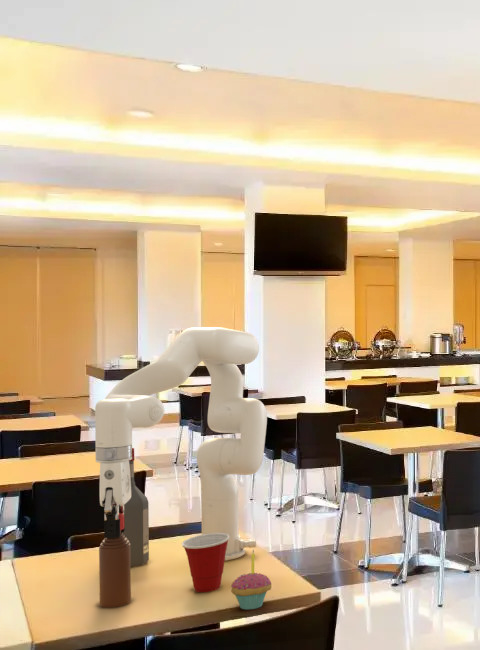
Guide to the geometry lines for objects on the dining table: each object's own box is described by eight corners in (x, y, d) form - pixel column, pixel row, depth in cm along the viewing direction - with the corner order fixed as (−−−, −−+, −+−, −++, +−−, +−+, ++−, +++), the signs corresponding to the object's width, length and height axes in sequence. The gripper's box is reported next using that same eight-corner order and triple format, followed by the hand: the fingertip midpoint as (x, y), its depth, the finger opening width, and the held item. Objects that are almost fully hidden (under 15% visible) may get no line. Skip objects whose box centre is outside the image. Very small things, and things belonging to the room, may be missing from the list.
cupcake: (236, 600, 197) (236, 547, 197) (274, 599, 198) (274, 546, 198) (227, 613, 189) (227, 558, 189) (267, 612, 189) (267, 556, 189)
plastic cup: (175, 587, 207) (175, 537, 207) (221, 579, 214) (220, 530, 214) (190, 599, 198) (189, 546, 198) (237, 589, 205) (236, 538, 205)
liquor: (113, 571, 221) (112, 452, 221) (104, 563, 228) (103, 448, 229) (151, 564, 227) (150, 449, 227) (140, 556, 234) (139, 445, 234)
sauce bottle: (133, 597, 200) (132, 514, 200) (128, 606, 194) (127, 520, 194) (102, 599, 199) (102, 516, 199) (96, 608, 193) (96, 522, 193)
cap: (124, 526, 199) (124, 512, 199) (124, 530, 196) (124, 515, 196) (104, 528, 198) (104, 514, 198) (104, 532, 194) (104, 517, 194)
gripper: (123, 458, 189) (124, 543, 189) (139, 447, 206) (139, 525, 206) (86, 460, 188) (87, 545, 188) (104, 449, 204) (105, 527, 204)
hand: (114, 534), depth 197 cm, fingers closed on cap, 3 cm apart
